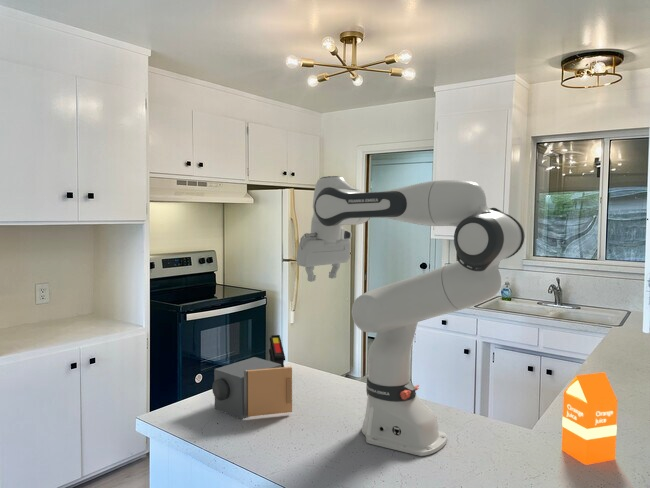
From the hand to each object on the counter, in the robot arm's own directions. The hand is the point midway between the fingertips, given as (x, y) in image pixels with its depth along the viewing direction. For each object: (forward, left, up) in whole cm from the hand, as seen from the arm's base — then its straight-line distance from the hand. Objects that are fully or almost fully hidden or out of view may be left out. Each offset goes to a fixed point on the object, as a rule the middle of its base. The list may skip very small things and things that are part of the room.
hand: (322, 279), depth 145 cm
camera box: (+19, +12, -39) cm, 45 cm away
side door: (+8, +14, -38) cm, 41 cm away
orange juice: (-67, -20, -39) cm, 80 cm away
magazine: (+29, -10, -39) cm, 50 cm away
